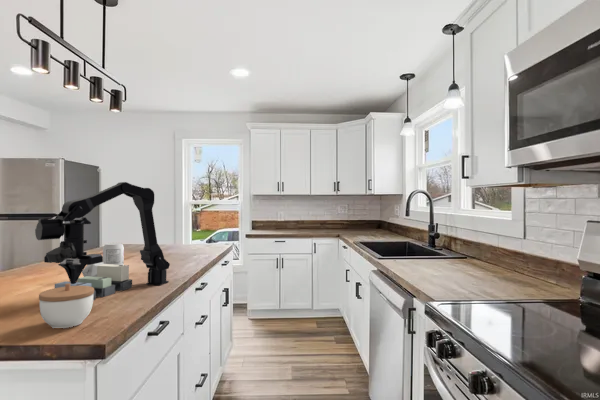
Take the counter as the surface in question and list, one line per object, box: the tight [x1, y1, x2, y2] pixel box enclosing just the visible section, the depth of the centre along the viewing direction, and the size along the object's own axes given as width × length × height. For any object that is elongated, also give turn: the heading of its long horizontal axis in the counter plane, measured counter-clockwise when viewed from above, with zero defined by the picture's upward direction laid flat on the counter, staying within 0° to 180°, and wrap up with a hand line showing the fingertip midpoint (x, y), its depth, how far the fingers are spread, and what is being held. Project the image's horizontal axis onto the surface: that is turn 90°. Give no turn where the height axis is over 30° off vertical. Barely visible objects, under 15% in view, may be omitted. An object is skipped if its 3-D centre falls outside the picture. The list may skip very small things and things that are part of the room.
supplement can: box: [102, 242, 125, 265], centre depth 153 cm, size 8×8×15 cm
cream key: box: [97, 264, 130, 281], centre depth 135 cm, size 11×4×6 cm, turn 77°
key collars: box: [93, 278, 133, 301], centre depth 126 cm, size 13×24×3 cm, turn 167°
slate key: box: [54, 281, 92, 288], centre depth 117 cm, size 11×4×6 cm, turn 77°
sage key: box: [77, 276, 111, 288], centre depth 126 cm, size 11×4×6 cm, turn 77°
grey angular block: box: [81, 262, 104, 277], centre depth 145 cm, size 8×9×10 cm
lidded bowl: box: [38, 284, 94, 329], centre depth 95 cm, size 13×13×11 cm
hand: (73, 283), depth 117 cm, fingers closed, pressing on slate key
